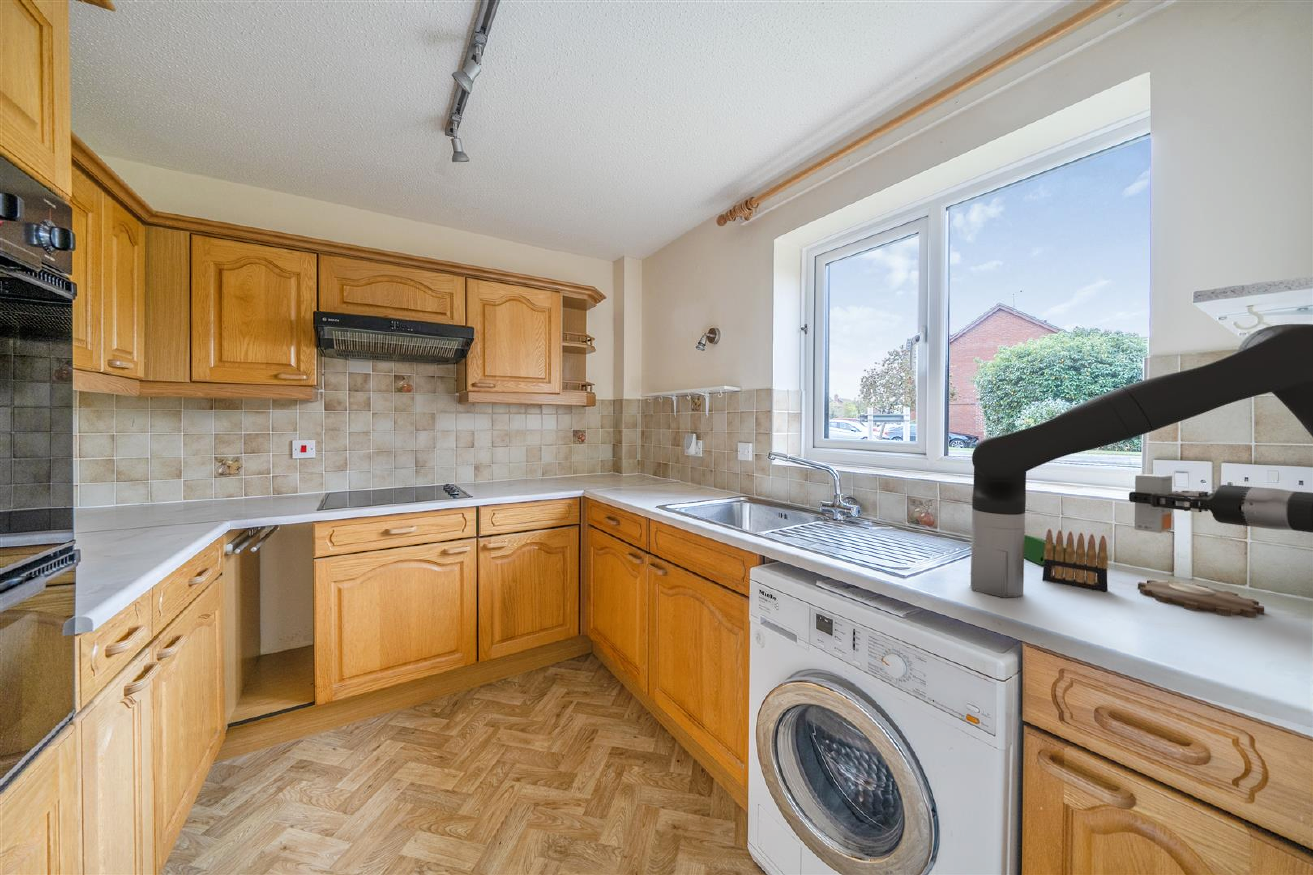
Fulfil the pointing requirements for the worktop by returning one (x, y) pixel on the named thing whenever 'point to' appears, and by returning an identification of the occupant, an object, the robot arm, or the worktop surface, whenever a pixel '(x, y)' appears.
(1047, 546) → the ammunition clip
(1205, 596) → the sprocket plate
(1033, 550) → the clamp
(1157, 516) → the skincare box
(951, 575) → the worktop surface
